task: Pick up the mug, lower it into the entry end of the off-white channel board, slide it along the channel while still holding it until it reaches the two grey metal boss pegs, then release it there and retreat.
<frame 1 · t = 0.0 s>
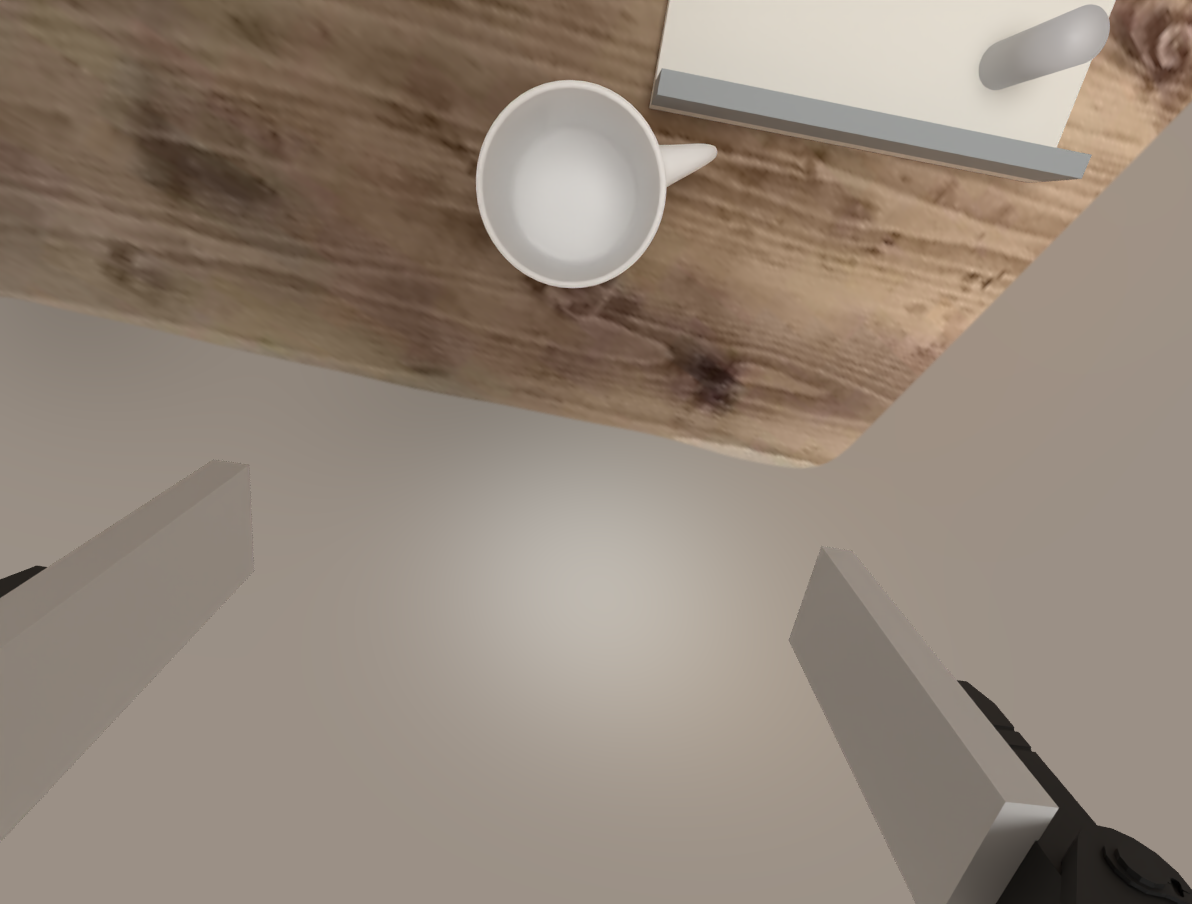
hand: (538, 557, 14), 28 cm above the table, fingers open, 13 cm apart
mug: (601, 190, 37), on the table
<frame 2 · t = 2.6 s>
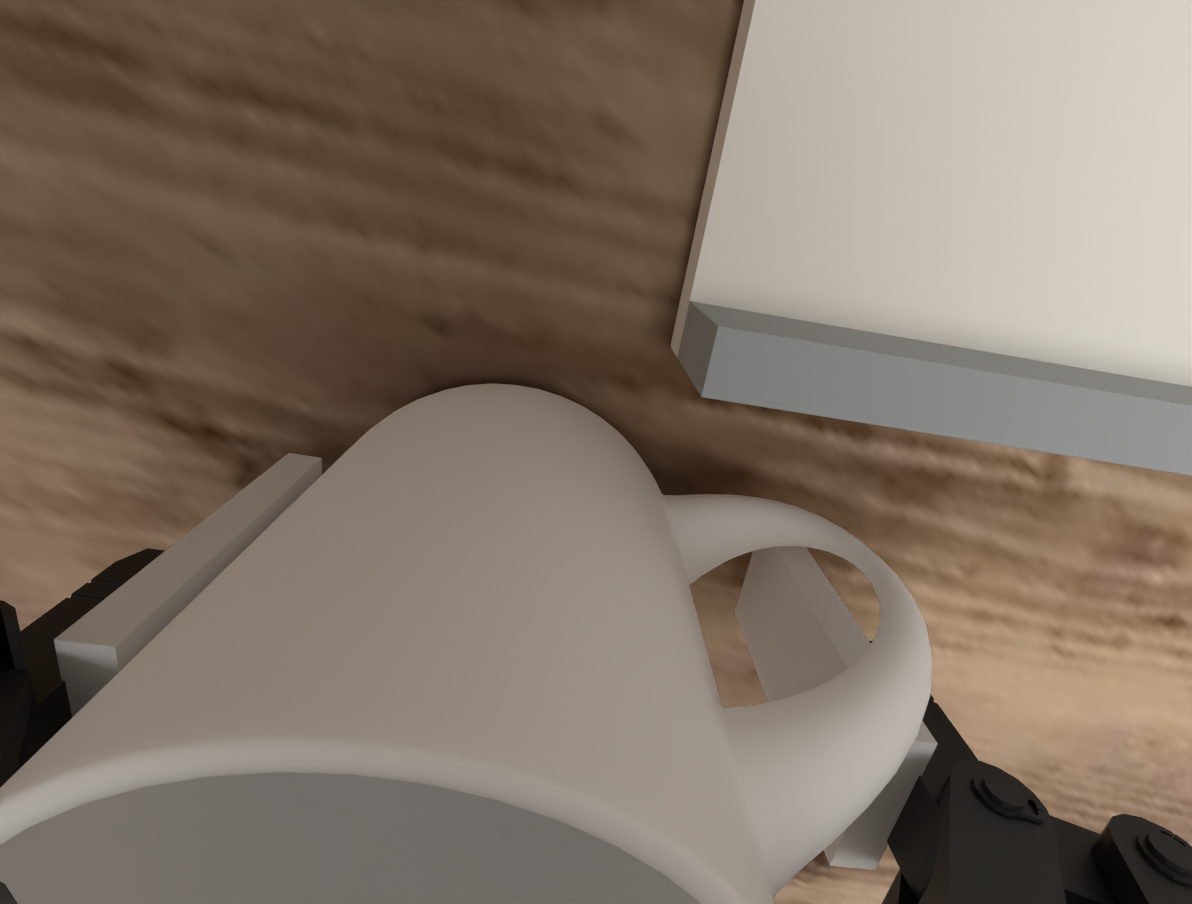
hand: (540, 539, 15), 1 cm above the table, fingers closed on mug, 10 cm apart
mug: (567, 513, 16), on the table, touching gripper
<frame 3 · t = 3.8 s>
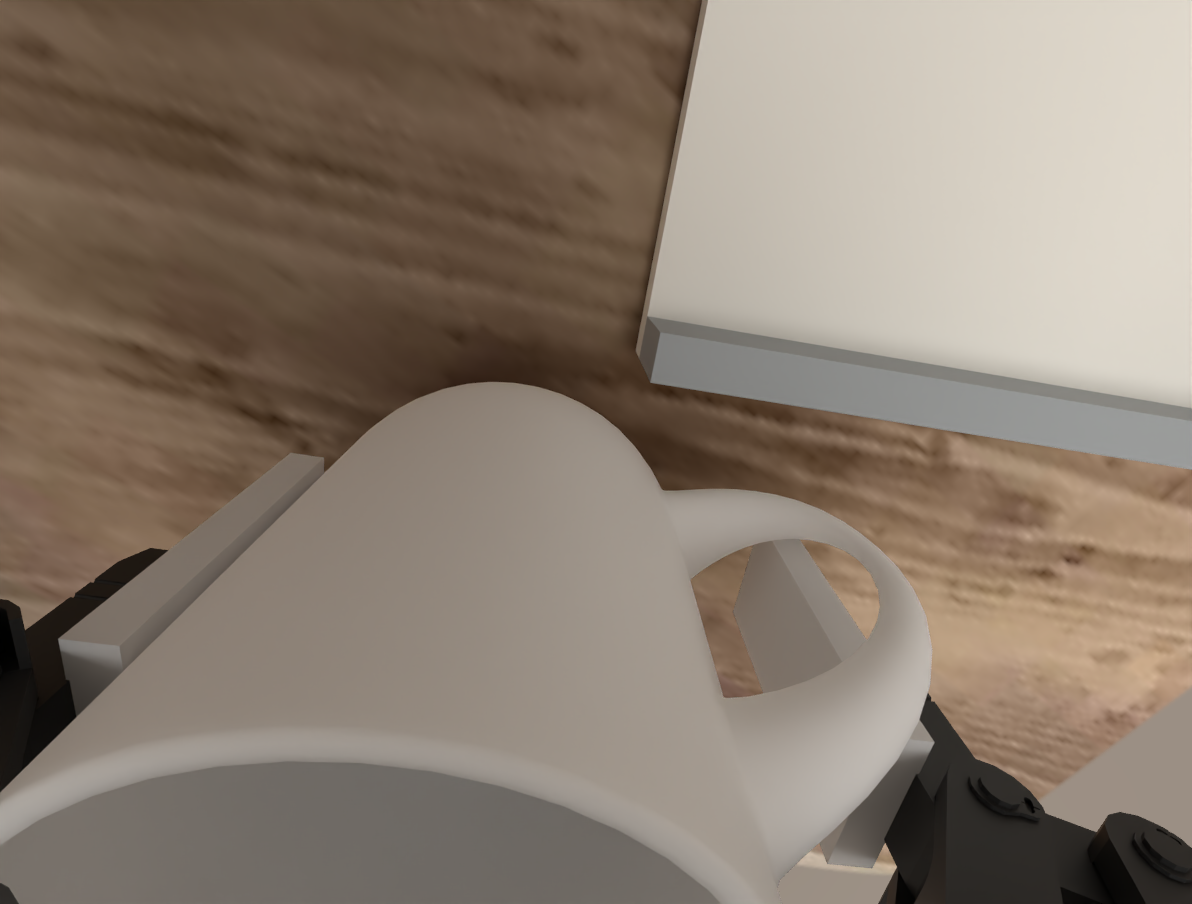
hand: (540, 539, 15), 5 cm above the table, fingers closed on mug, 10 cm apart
channel board: (1156, 41, 16), on the table
mug: (568, 510, 16), point 4 cm above the table, touching gripper
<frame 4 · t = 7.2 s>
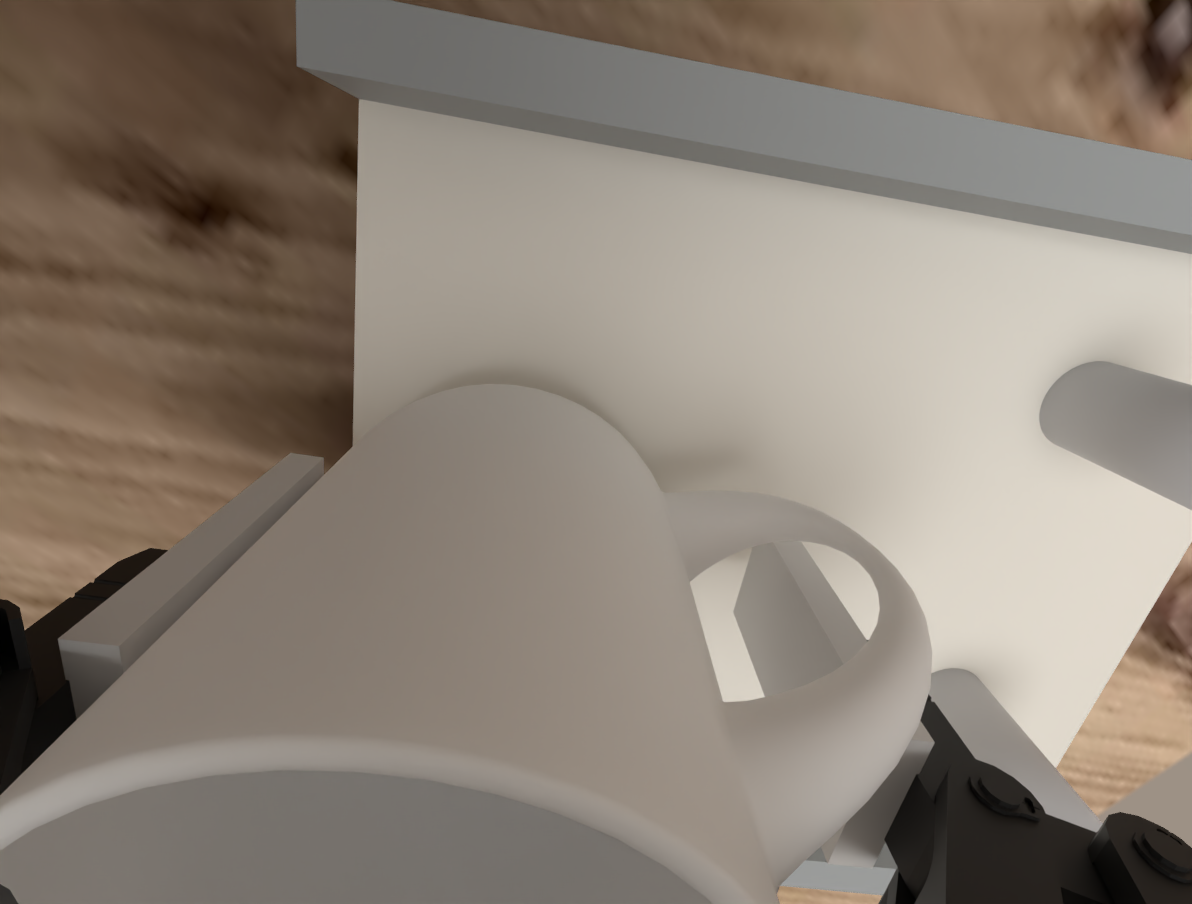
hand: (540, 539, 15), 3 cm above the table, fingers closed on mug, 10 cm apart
channel board: (767, 515, 18), on the table
mug: (567, 512, 16), point 2 cm above the table, touching gripper
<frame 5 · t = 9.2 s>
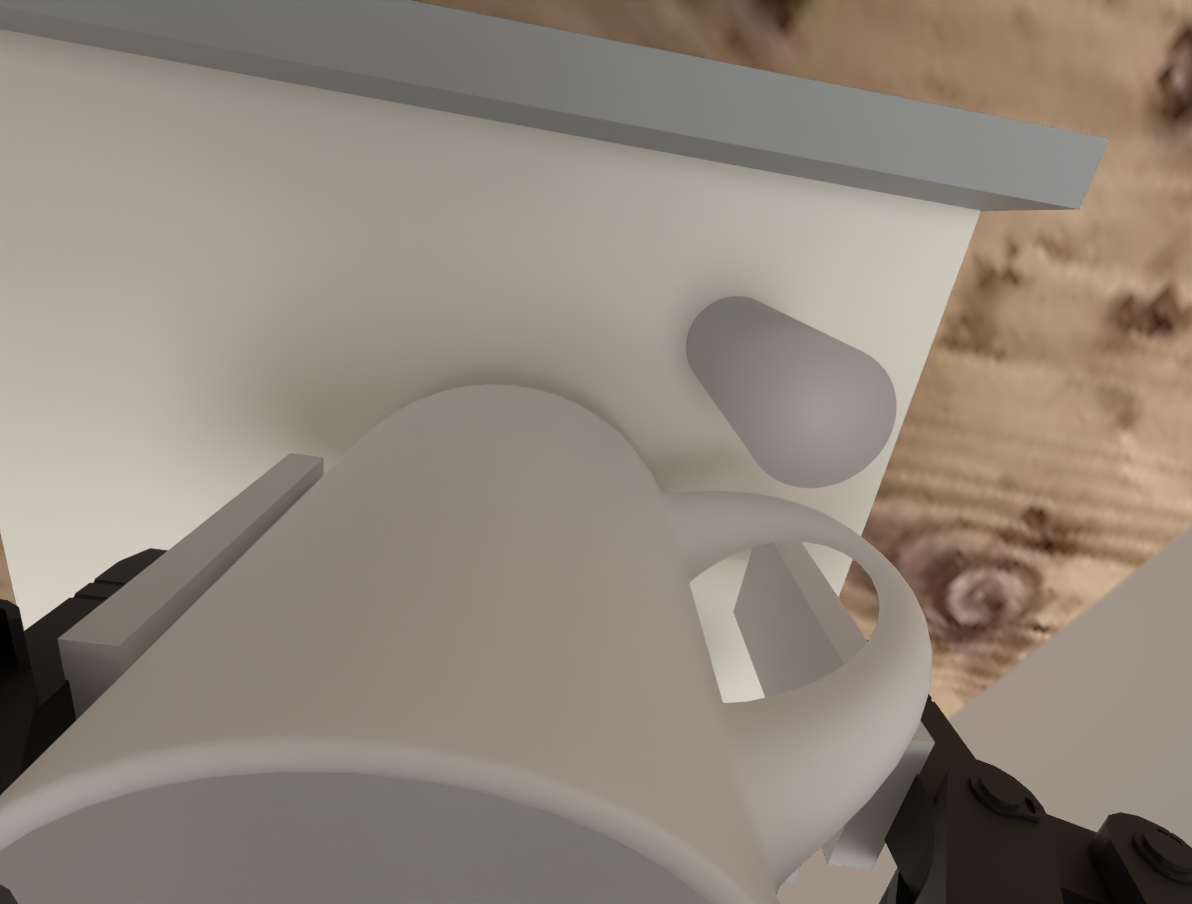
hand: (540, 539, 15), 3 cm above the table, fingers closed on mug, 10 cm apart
channel board: (450, 467, 17), on the table
mug: (567, 513, 16), point 2 cm above the table, touching gripper
when the fingers open (3 cm above the table, at t = 10.7 s): mug stays where it is, resting on channel board.
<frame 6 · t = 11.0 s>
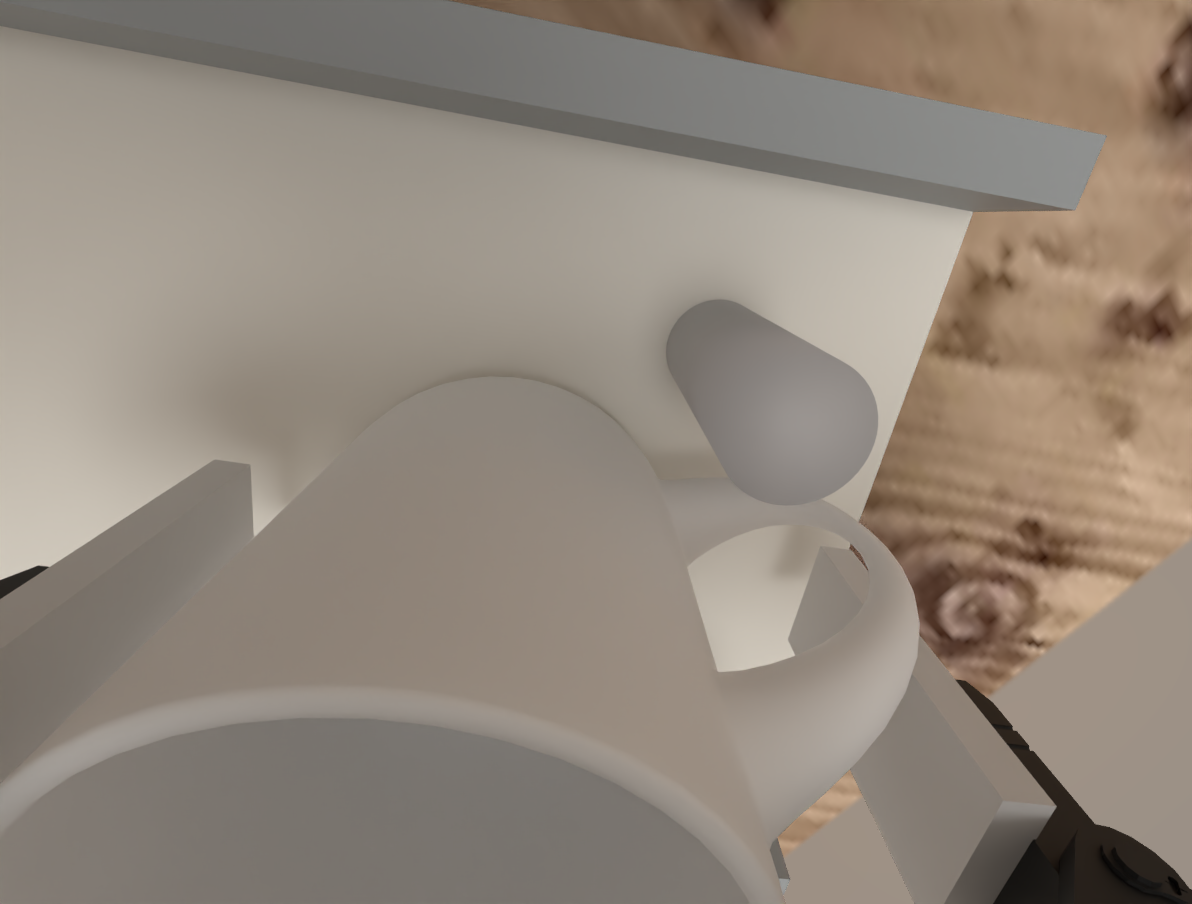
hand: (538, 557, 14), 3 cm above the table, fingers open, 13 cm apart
channel board: (424, 474, 17), on the table
mug: (567, 503, 16), point 1 cm above the table, touching channel board
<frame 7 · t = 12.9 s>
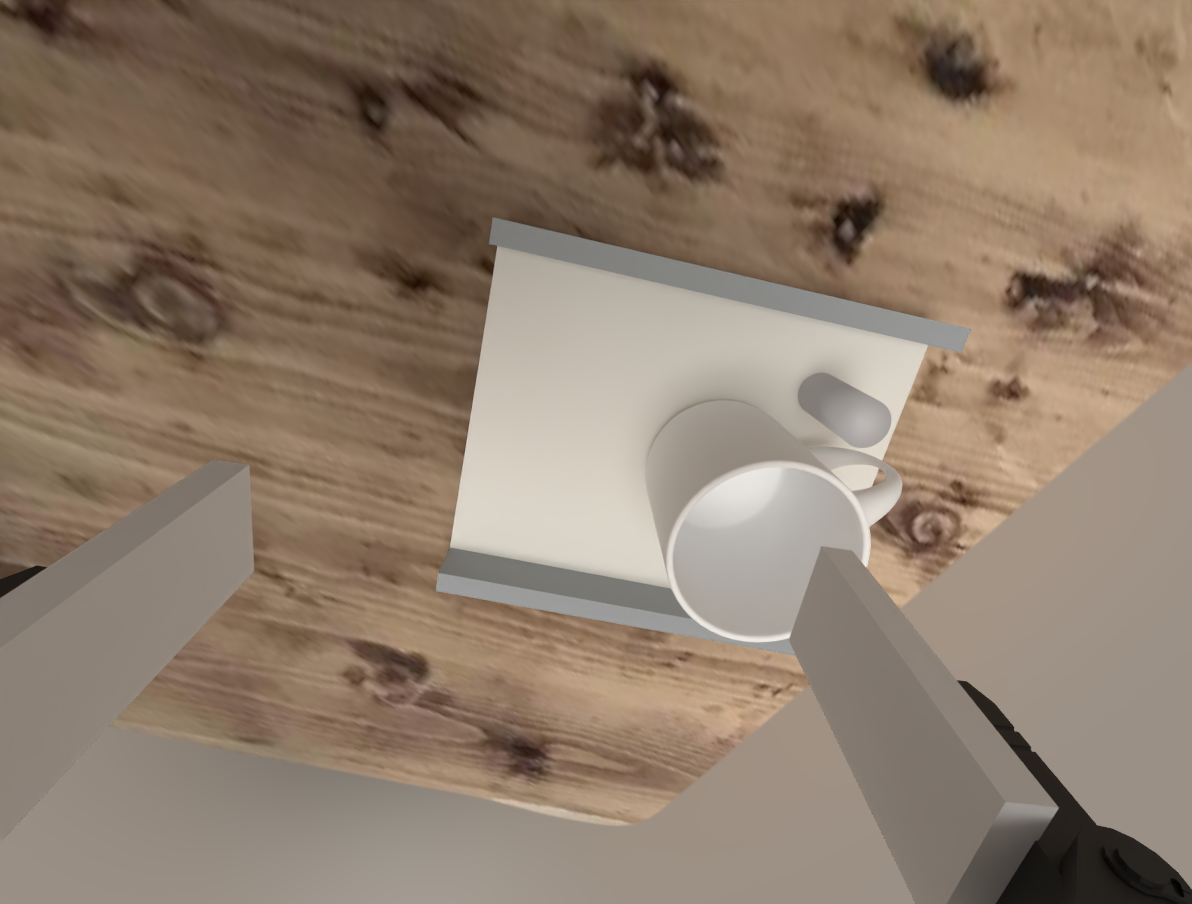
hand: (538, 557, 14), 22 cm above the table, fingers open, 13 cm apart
channel board: (673, 444, 36), on the table
mug: (744, 459, 35), point 1 cm above the table, touching channel board
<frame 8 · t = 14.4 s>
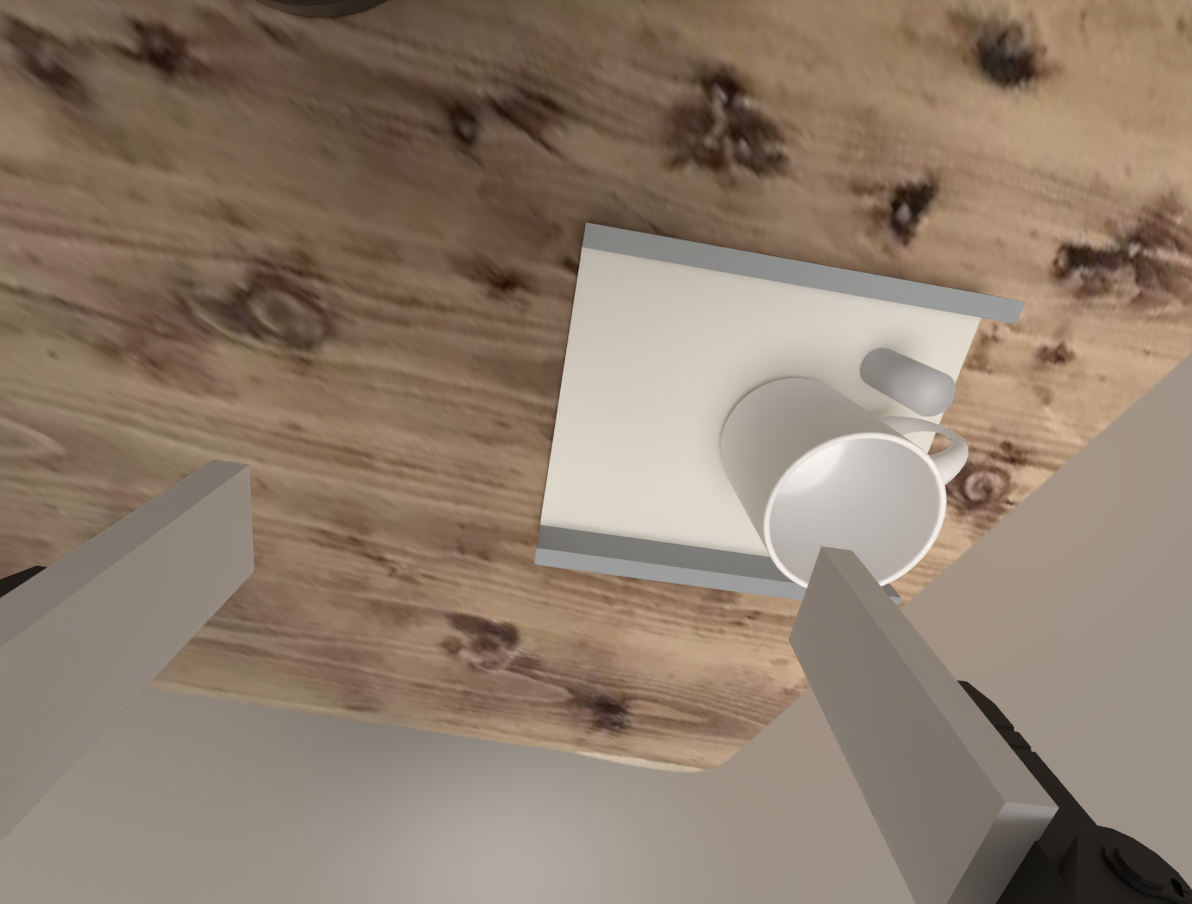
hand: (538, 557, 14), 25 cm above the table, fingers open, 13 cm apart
channel board: (742, 420, 39), on the table
mug: (809, 431, 38), point 1 cm above the table, touching channel board
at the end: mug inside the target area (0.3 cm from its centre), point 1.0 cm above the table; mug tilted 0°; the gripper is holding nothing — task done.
